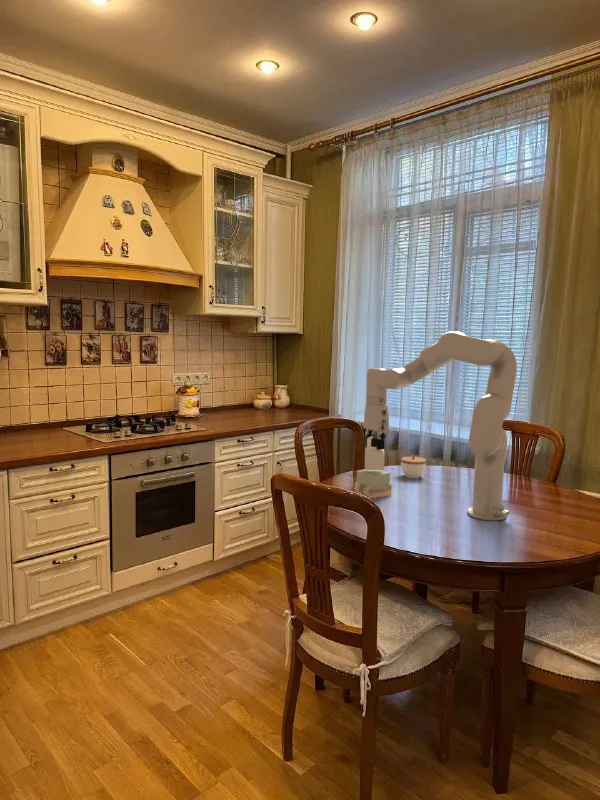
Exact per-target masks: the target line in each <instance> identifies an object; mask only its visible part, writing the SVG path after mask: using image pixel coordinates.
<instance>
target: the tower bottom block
mask: <svg viewBox="0 0 600 800" xmlns="http://www.w3.org/2000/svg"><path fill="white" fill-rule="evenodd" d="M355 490H356V491H355ZM355 492H357V493H359V492H361V493H360V494H362V495H365V496H367V497H368V498H367V499H369V498H370V499H369V500H373V499H372V498H374V499H377V498H376V497H380V498H384V497H383V496H387V497H390V496H389V495H391V496H392V484H390V485H384V486H379V487H373V488H371V487H368V486H366V485H363V484H360V483H357V481H355V482H354V493H355ZM357 493H356V494H357ZM360 494H359V495H360ZM362 495H361V496H362Z"/></svg>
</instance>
